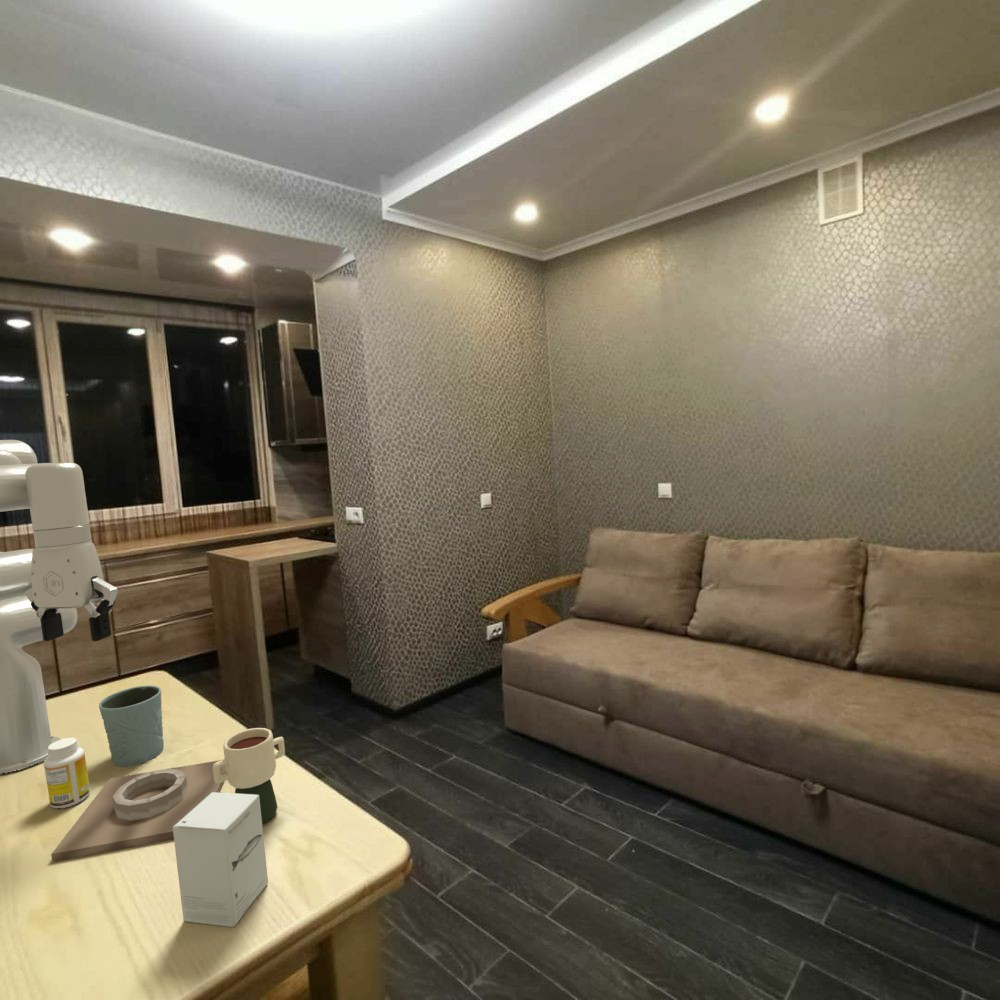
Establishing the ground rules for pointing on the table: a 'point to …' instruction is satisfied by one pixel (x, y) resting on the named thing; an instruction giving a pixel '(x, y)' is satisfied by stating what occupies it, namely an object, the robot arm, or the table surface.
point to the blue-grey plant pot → (133, 724)
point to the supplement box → (220, 858)
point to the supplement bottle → (66, 773)
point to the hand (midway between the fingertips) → (77, 638)
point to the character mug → (251, 766)
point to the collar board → (138, 810)
